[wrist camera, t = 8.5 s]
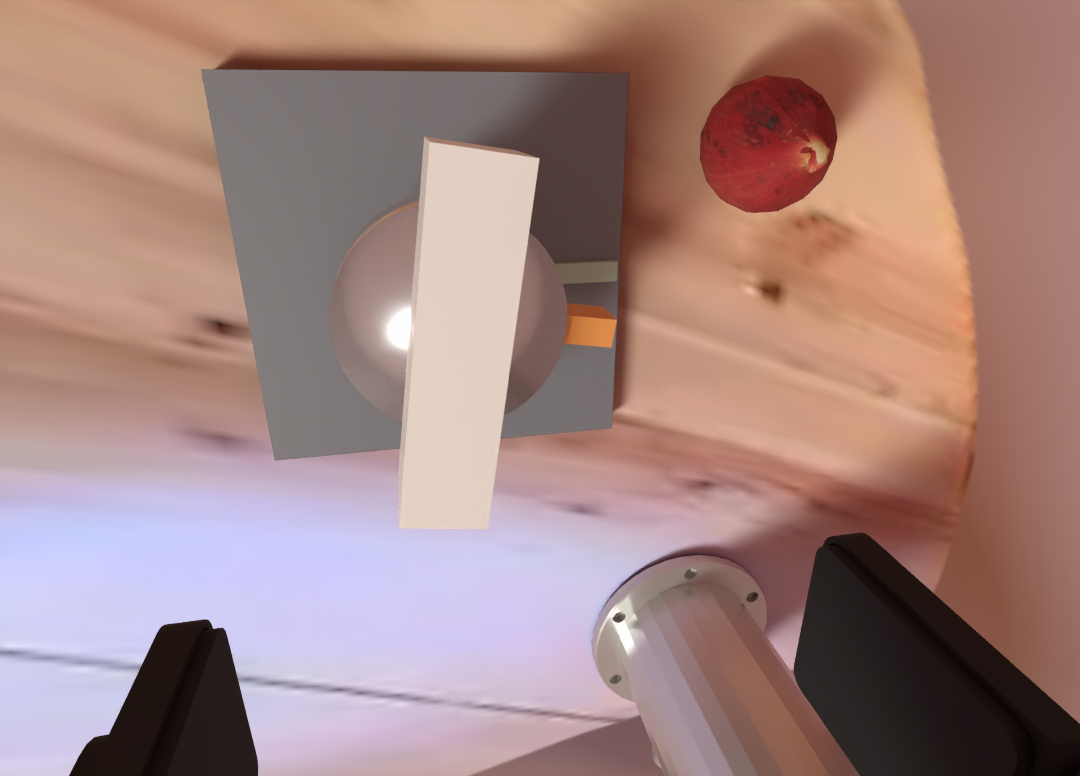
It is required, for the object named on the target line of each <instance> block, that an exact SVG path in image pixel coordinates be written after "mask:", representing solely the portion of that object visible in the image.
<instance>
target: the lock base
mask: <svg viewBox="0 0 1080 776" xmlns="http://www.w3.org/2000/svg"><path fill="white" fill-rule="evenodd" d="M201 72H202V77H203V82H204V88H205V93H206V98H207V104H208V109H209V114H210V119H211V125H212V130H213V135H214V141H215V146H216V151H217V157H218V162H219V167H220V172H221V178H222V183H223V188H224V194H225V199H226V204H227V210H228V215H229V220H230V226H231V231H232V236H233V241H234V247H235V252H236V257H237V263H238V268H239V273H240V279H241V284H242V289H243V295H244V300H245V305H246V310H247V316H248V321H249V326H250V332H251V337H252V342H253V348H254V353H255V358H256V364H257V369H258V374H259V379H260V385H261V390H262V395H263V401H264V406H265V411H266V417H267V422H268V427H269V433H270V438H271V443H272V448H273V454H274V459H275V460H286V459H296V458H306V457H317V456H327V455H338V454H348V453H358V452H369V451H379V450H389V449H400V444H401V432H402V421H400V420H398V419H396V418H394V417H392V416H390V415H388V414H386V413H384V412H383V411H381V410H380V409H378V408H377V407H375V406H374V405H373V404H371V403H370V402H369V401H368V400H367V399H366V398H364V397H363V396H362V395H361V394H360V392H359V391H358V390H357V389H356V388H355V387H354V386H353V385H352V383H351V382H350V380H349V379H348V377H347V376H346V374H345V373H344V371H343V369H342V367H341V365H340V363H339V361H338V359H337V356H336V353H335V350H334V347H333V344H332V339H331V334H330V324H329V309H330V299H331V295H332V291H333V287H334V283H335V280H336V277H337V274H338V271H339V269H340V266H341V263H342V261H343V258H344V256H345V253H346V251H347V249H348V248H349V246H350V244H351V242H352V241H353V239H354V238H355V236H356V235H357V234H358V233H359V231H360V230H361V229H362V228H363V227H364V226H365V225H366V224H367V223H368V222H369V221H370V220H371V219H372V218H373V217H374V216H376V215H377V214H379V213H380V212H381V211H383V210H384V209H386V208H387V207H389V206H391V205H393V204H395V203H397V202H399V201H402V200H404V199H407V198H410V197H413V196H417V195H420V185H421V172H422V159H423V146H424V137H431V138H437V139H444V140H451V141H457V142H464V143H471V144H477V145H484V146H490V147H497V148H504V149H510V150H517V151H520V152H523V153H525V154H528V155H531V156H534V157H537V158H539V165H538V172H537V179H536V187H535V194H534V201H533V208H532V215H531V222H530V230H529V232H530V233H531V234H532V235H533V236H534V237H535V238H536V239H537V240H538V241H539V242H540V243H541V245H542V246H543V247H544V248H545V249H546V251H547V252H548V254H549V255H550V257H551V259H552V260H553V262H554V263H555V266H556V268H557V270H558V272H559V274H560V277H561V280H562V283H563V286H564V290H565V295H566V301H567V303H571V304H581V305H592V306H603V307H604V308H605V309H606V310H607V311H608V312H609V313H610V314H611V315H612V316H613V317H614V318H615V319H617V308H618V287H619V266H620V245H621V224H622V203H623V182H624V161H625V140H626V119H627V98H628V77H629V73H566V72H452V71H337V70H223V69H201ZM616 329H617V323H616V328H615V333H614V338H613V343H612V348H611V347H598V346H585V345H573V344H563V348H562V351H561V353H560V356H559V358H558V361H557V363H556V365H555V367H554V368H553V370H552V372H551V374H550V375H549V377H548V378H547V380H546V381H545V382H544V384H543V385H542V386H541V387H540V388H539V390H538V391H537V392H536V393H535V394H534V395H533V396H532V397H531V398H530V399H528V400H527V401H526V402H525V403H524V404H523V405H521V406H520V407H518V408H517V409H515V410H514V411H512V412H511V413H509V414H507V415H505V416H503V423H502V430H501V437H500V439H504V438H514V437H524V436H535V435H545V434H556V433H566V432H576V431H587V430H597V429H607V428H612V413H613V392H614V371H615V350H616Z"/></svg>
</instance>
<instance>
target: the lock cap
mask: <svg viewBox="0 0 1080 776" xmlns="http://www.w3.org/2000/svg"><path fill="white" fill-rule="evenodd" d="M538 165H539V158H537V157H534V156H531V155H528V154H525V153H523V152H520V151H517V150H510V149H504V148H497V147H490V146H484V145H477V144H471V143H464V142H457V141H451V140H444V139H437V138H431V137H424V146H423V159H422V172H421V185H420V195H417V196H413V197H410V198H407V199H404V200H402V201H399V202H397V203H395V204H393V205H391V206H389V207H387V208H386V209H384V210H383V211H381V212H380V213H379V214H377V215H376V216H374V217H373V218H372V219H371V220H370V221H369V222H368V223H367V224H366V225H365V226H364V227H363V228H362V229H361V230H360V231H359V233H358V234H357V235H356V236H355V238H354V239H353V241H352V242H351V244H350V246H349V248H348V249H347V251H346V253H345V256H344V258H343V261H342V263H341V266H340V269H339V271H338V274H337V277H336V280H335V283H334V287H333V291H332V295H331V299H330V309H329V324H330V334H331V339H332V344H333V347H334V350H335V353H336V356H337V359H338V361H339V363H340V365H341V367H342V369H343V371H344V373H345V374H346V376H347V377H348V379H349V380H350V382H351V383H352V385H353V386H354V387H355V388H356V389H357V390H358V391H359V392H360V394H361V395H362V396H363V397H364V398H366V399H367V400H368V401H369V402H370V403H371V404H373V405H374V406H375V407H377V408H378V409H380V410H381V411H383V412H384V413H386V414H388V415H390V416H392V417H394V418H396V419H398V420H400V421H402V432H401V444H400V457H399V470H398V486H399V528H412V529H488V523H489V515H490V508H491V501H492V494H493V487H494V480H495V473H496V465H497V458H498V451H499V444H500V437H501V430H502V423H503V416H505V415H507V414H509V413H511V412H512V411H514V410H515V409H517V408H518V407H520V406H521V405H523V404H524V403H525V402H526V401H527V400H528V399H530V398H531V397H532V396H533V395H534V394H535V393H536V392H537V391H538V390H539V388H540V387H541V386H542V385H543V384H544V382H545V381H546V380H547V378H548V377H549V375H550V374H551V372H552V370H553V368H554V367H555V365H556V363H557V361H558V358H559V356H560V353H561V351H562V348H563V344H573V345H585V346H598V347H611V348H612V343H613V338H614V333H615V328H616V323H617V319H615V318H614V317H613V316H612V315H611V314H610V313H609V312H608V311H607V310H606V309H605V308H604V307H603V306H592V305H581V304H571V303H567V301H566V295H565V290H564V286H563V283H562V280H561V277H560V274H559V272H558V270H557V268H556V266H555V263H554V262H553V260H552V259H551V257H550V255H549V254H548V252H547V251H546V249H545V248H544V247H543V246H542V245H541V243H540V242H539V241H538V240H537V239H536V238H535V237H534V236H533V235H532V234H531V233H530V232H529V230H530V222H531V215H532V208H533V201H534V194H535V187H536V179H537V172H538Z"/></svg>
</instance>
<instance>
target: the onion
mask: <svg viewBox="0 0 1080 776" xmlns="http://www.w3.org/2000/svg"><path fill="white" fill-rule="evenodd" d="M836 142H837V132H836V125H835V118H834V115H833V113H832V111H831V110H830V108H829V106H828V105H827V103H826V101H825V100H824V98H823V96H822V95H821V94H819V93H818V92H816V91H815V90H813V89H812V88H811V87H809V86H808V85H806V84H805V83H804V82H802V81H801V80H799V79H794V78H787V77H777V76H767V75H766V76H764V77H761V78H758V79H755V80H752V81H750V82H747V83H744V84H741V85H739V86H736V87H733V88H732V89H731V90H730V91H729V92H728V93H727V94H726V95H725V96H723V97H722V98H721V99H720V100H719V101H718V102H717V103H716V104H715V105H714V106H713V107H712V109H711V112H710V114H709V116H708V119H707V121H706V123H705V125H704V128H703V130H702V132H701V144H700V161H701V164H702V168H703V171H704V174H705V178H706V181H707V183H708V184H709V185H710V186H711V188H712V189H713V190H714V191H715V192H716V194H717V195H718V196H719V197H720V198H721V199H722V200H723V201H725V202H726V203H728V204H730V205H733V206H735V207H737V208H739V209H741V210H743V211H745V212H752V213H758V212H773V211H779V210H781V209H783V208H785V207H787V206H789V205H791V204H793V203H795V202H797V201H799V200H801V199H803V198H804V197H806V196H807V195H808V194H809V193H810V192H811V191H812V190H813V189H814V188H815V187H816V186H817V185H818V184H819V183H820V182H821V181H822V180H823V178H824V176H825V174H826V172H827V170H828V168H829V166H830V164H831V162H832V160H833V155H834V151H835V146H836Z"/></svg>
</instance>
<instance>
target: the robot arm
mask: <svg viewBox="0 0 1080 776" xmlns="http://www.w3.org/2000/svg"><path fill="white" fill-rule="evenodd" d="M766 624H767V606H766V601H765V597H764V595H763V593H762V591H761V589H760V587H759V586H758V584H757V583H756V582H755V580H754V579H753V578H752V576H751V575H750V574H749V573H748V572H747V571H745V570H744V569H743V568H742V567H741V566H739V565H737V564H735V563H734V562H732V561H730V560H727V559H723V558H720V557H716V556H707V555H693V556H682V557H678V558H674V559H671V560H667V561H664V562H661V563H659V564H657V565H654V566H652V567H650V568H648V569H646V570H644V571H643V572H641V573H639V574H638V575H636V576H634V577H633V578H631V579H630V580H629V581H628V582H627V583H625V584H624V585H623V586H622V587H621V588H619V589H618V591H617V592H616V593H615V594H614V595H613V596H612V597H611V598H610V600H609V601H608V602H607V604H606V605H605V607H604V608H603V610H602V612H601V613H600V615H599V617H598V620H597V622H596V625H595V628H594V632H593V638H592V652H593V658H594V661H595V664H596V667H597V670H598V672H599V674H600V676H601V678H602V680H603V682H604V683H605V684H606V685H607V686H608V687H609V688H610V689H611V690H612V691H613V692H615V693H616V694H618V695H619V696H621V697H622V698H625V699H627V700H630V701H633V702H635V703H636V705H637V708H638V710H639V713H640V715H641V718H642V720H643V723H644V725H645V728H646V730H647V732H648V735H649V738H650V740H651V742H652V745H653V754H652V757H653V759H654V762H655V763H656V764H657V765H658V766H659V767H661V768H662V770H663V772H664V774H665V776H1080V724H1079V723H1078V722H1077V721H1076V720H1075V719H1074V718H1072V717H1071V716H1070V715H1069V714H1068V713H1067V712H1066V711H1065V710H1063V709H1062V708H1061V707H1060V706H1059V705H1058V704H1057V703H1056V702H1055V701H1053V700H1052V699H1051V698H1050V697H1049V696H1048V695H1047V694H1046V693H1044V692H1043V691H1042V690H1041V689H1040V688H1039V687H1038V686H1036V684H1034V683H1033V682H1032V681H1031V680H1030V679H1029V678H1028V677H1027V676H1025V675H1024V674H1023V673H1022V672H1021V671H1020V670H1019V669H1018V668H1016V667H1015V666H1014V665H1013V664H1012V663H1010V661H1009V660H1008V659H1006V658H1005V657H1004V656H1003V655H1002V654H1001V653H1000V652H999V651H997V650H996V649H995V648H994V647H993V646H992V645H991V644H989V643H988V642H987V641H986V640H985V639H984V638H983V637H982V636H981V635H979V634H978V633H977V632H976V631H975V630H974V629H973V628H972V627H971V626H969V625H968V624H967V623H966V622H965V621H964V620H963V619H962V618H961V617H959V616H958V615H957V614H956V613H955V612H954V611H953V610H951V609H950V608H949V607H948V606H947V605H946V604H945V603H944V602H943V601H941V600H940V599H939V598H938V597H937V596H936V595H935V594H934V593H933V592H931V591H930V590H929V589H928V588H927V587H926V586H925V585H924V584H923V583H921V582H920V581H919V580H918V579H917V578H916V577H915V576H914V575H912V574H911V573H910V572H909V571H908V570H907V569H906V568H905V567H904V566H902V565H901V564H900V563H899V562H898V561H897V560H896V559H895V558H893V557H892V556H891V555H890V554H889V553H888V552H887V551H886V550H884V549H883V548H882V547H881V546H880V545H879V544H878V543H877V542H876V541H874V540H873V539H872V538H871V537H870V536H868V535H867V534H864V533H854V534H846V535H839V536H832V537H829V538H827V539H826V540H825V542H824V545H823V547H820V548H819V549H818V550H817V552H816V556H815V561H814V566H813V571H812V576H811V582H810V587H809V592H808V597H807V602H806V607H805V612H804V617H803V622H802V627H801V632H800V638H799V643H798V648H797V653H796V658H795V663H794V674H795V677H794V675H793V674H792V672H791V671H790V669H789V668H788V667H787V665H786V664H785V662H784V661H783V659H782V658H781V657H780V655H779V654H778V652H777V651H776V650H775V648H774V647H773V645H772V644H771V642H770V641H769V640H768V638H767V637H766V635H765V634H764V631H765V627H766ZM69 776H258V761H257V755H256V751H255V747H254V743H253V739H252V735H251V731H250V727H249V723H248V719H247V715H246V711H245V707H244V703H243V699H242V695H241V690H240V686H239V682H238V678H237V674H236V670H235V666H234V662H233V658H232V654H231V650H230V646H229V642H228V638H227V634H226V631H225V630H224V629H223V628H217V629H213V627H212V625H211V623H210V622H209V620H197V621H190V622H182V623H175V624H167V625H164V626H162V627H161V628H160V629H159V631H158V633H157V634H156V637H155V639H154V641H153V643H152V645H151V647H150V649H149V651H148V653H147V656H146V658H145V660H144V662H143V664H142V666H141V668H140V670H139V672H138V675H137V677H136V679H135V681H134V683H133V685H132V687H131V689H130V691H129V694H128V696H127V698H126V700H125V702H124V704H123V706H122V708H121V710H120V713H119V715H118V717H117V719H116V721H115V723H114V725H113V727H112V729H111V732H110V734H109V735H103V736H98V737H94V738H93V739H92V740H91V741H90V742H89V743H88V744H87V745H86V746H85V748H84V749H83V751H82V752H81V754H80V756H79V757H78V759H77V761H76V763H75V765H74V767H73V769H72V771H71V773H70V775H69Z"/></svg>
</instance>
